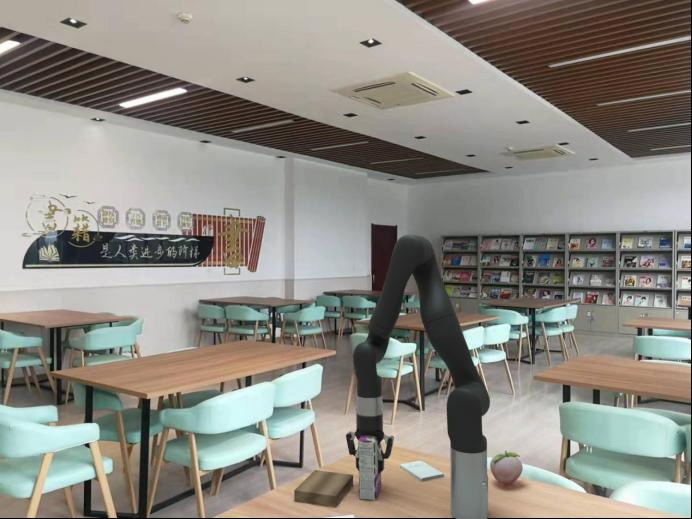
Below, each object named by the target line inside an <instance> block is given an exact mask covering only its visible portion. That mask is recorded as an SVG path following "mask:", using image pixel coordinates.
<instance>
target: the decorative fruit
mask: <svg viewBox="0 0 692 519" xmlns="http://www.w3.org/2000/svg"><path fill="white" fill-rule="evenodd" d="M518 457H519V458H521V455H519V454H518V453H516V452H513V451H512V452H511V451H509V452H507V450H505V451H504V452H502V453H497V454H495V455H494V456H493V457H492V458H491V459H490V463H489V468H490V472H491V474H492V476H493V478H494V479H495V480H496V481H497V482H498V483H500V484H503V485H504V486H508V485H511V484H513V483H514V482H517V480H518V479H519V478H520V476H521V475H522V473H523V466H524V465H523V463H522V461H521V460H520V459H519V458H518Z"/></svg>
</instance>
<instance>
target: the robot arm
mask: <svg viewBox="0 0 692 519" xmlns="http://www.w3.org/2000/svg"><path fill="white" fill-rule="evenodd" d="M434 249H435V248H434V247H433V245H432V243H431V242H430V240H428V239H427V238H425V237H424V236H422V235H418V234H417V235H416V234H404V235H402V236H400V237H399V239H397V241H396V242H395V244H394V247H393V250H392V252H391V253H392V254H391V257H390V262H389V266H388V269H387V273H386V277H385V280H384V283H383V286H382V290H381V292H380V294H379V296H378V297H379V298H378V299H377V303H376V305H375V308H374V309H373V312H372V314H371V316H370V319H369V322H368V325H367V329H368V334H367V337H366V339H365V341H362V342H360V343H358V344H357V345H356V346H355V348H354V350H353V353H352V354H353V355H352V362H353V368H354V373H355V377H356V404H355V405H356V406H355V413H356V415H355V416H356V418H355V419H356V421H355V422H356V423H355V424H356V428H355V429H356V430H355V431H354V432H353V431H348V432H347V433H346V434H345V440H346V444H347V449H348V454H349V455H350V456H353V457H355V468H356V469H357V471H358V472H359V454H358V453H359V450H358V449H359V448H358V447H357V449H356V444H355V441H354V440H355V439H357V442H358V441H359V439H360V437H361V435H368V436H376V437H377V442H378V445H379V448H378V445H377V453H378V459H379V460H378V473H380V474H381V475H382V473H383V471H384V470H385V460H388V459H389V458H390V457H391V455H392V451H393V450H392V449H393V445H394V441H395V436H393V435H387V434H385V432H384V410H383V408H384V403H383V393H382V392H383V390H382V389H383V388H382V386H383V385H382V383H383V381H382V378H381V375H379V374H378V370H377V369H378V368H377V364H379V363H381V361H382V360H383V359H384V357H385V355H386V353H387V350H388V347H389V343H390V338H391V335H392V332H393V331H394V328H395V326H396V324H397V321H398V319H399V318H400V315H401V310H402V307H403V301H404V295H405V291H406V288H407V285H408V282H409V281H410V277H411V276H413V279H414V282H415V284H416V287H417V291H418V299H419V312H420V319H421V324H422V325H423V329H424V330H425V334H426V336H427V339H428V341H429V343H430V345H431V346H432V348H433V349H434V351H435V352H436V354H437V355H438V356H439V358H440V359H441V360H442V362H443V363H444V364H445V366H446V368H447V369H448V370H447V371H449V373H450V376H451V379H452V383H453V387H454V389H453V390H452V391H451V392H450V393H449V394H448V396H447V400H446V425H447V426H446V429H447V436H448V439H449V441H450V444H449V445H450V448H449V449H450V452H449V454H450V459H449V460H450V461H449V462H450V514H451V516H452V517H453V518H455V519H488V515H489V476H488V440H487V437H486V436H485V435H484V433H483V417H484V416H485V415H486V414H487V413H488V412H489V410H490V407H491V406H490V405H491V398H490V394H489V392H488V390H487V387H486V385H485V384H484V382H483V380H482V379H483V378H482V376H480V373H479V371H478V369H477V366H476V365H475V362H474V360H473V357H472V354H471V351H470V349H469V347H468V344H467V341H466V338H465V336H464V332H463V329H462V326H461V324H460V321H459V318H458V316H457V314H456V311H455V308H454V306H453V303H452V300H451V298H450V296H449V293H448V290H447V288H446V286H445V284H444V282H443V278H442V275H441V272H440V269H439V264H438V261H437V257H436V253H435V250H434ZM383 440H384V443H385V444H386V448H385V451H384V450H383V446H382V445H383V444H382V441H383Z"/></svg>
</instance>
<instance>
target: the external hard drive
mask: <svg viewBox="0 0 692 519" xmlns="http://www.w3.org/2000/svg"><path fill="white" fill-rule="evenodd" d="M399 468H400V469H402V470H403V471H404V472H406V473H408V474H409V475H410V476H412V477H414V478H415V479H417V480H418V481H420V482H421V483H422V482H426V481H427V482H428V481H432V480H436V479H441V478H445V474H444V473H443V472H441V471H439V470H438V469H436V468H434V467H433V466H431V465H429V464H428V463H425V462H424V461H423V460H417V461H411V462H406V463H401V464H400V465H399Z"/></svg>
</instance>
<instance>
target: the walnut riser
mask: <svg viewBox="0 0 692 519" xmlns="http://www.w3.org/2000/svg"><path fill="white" fill-rule="evenodd" d="M353 486H354V474H350V473H349V474H348V473H342V472H335V471H326V470H320V469H319V470H317V469H314V470H313V472H311V473H310V475H308V476H307V477H306V478H305V479H304V480H303V481H302V482H301V483H300V484H299V485H298V486H297V487H296V488H295V489H294V490H293V492H294V494H293V496H294V497H293V498H294V502H297V503H304V504H309V505H316V506H323V507H329V508H331V507H332V508H337V507H338V505H339V504H340V503H341V501H342V500H343V499H344V498H345V496H346V495H347V494H348V493H349V491H350V490H351V489H352V487H353ZM350 488H351V489H350ZM349 489H350V490H349ZM346 493H347V494H346ZM343 497H344V498H343ZM342 498H343V499H342ZM339 502H340V503H339Z"/></svg>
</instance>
